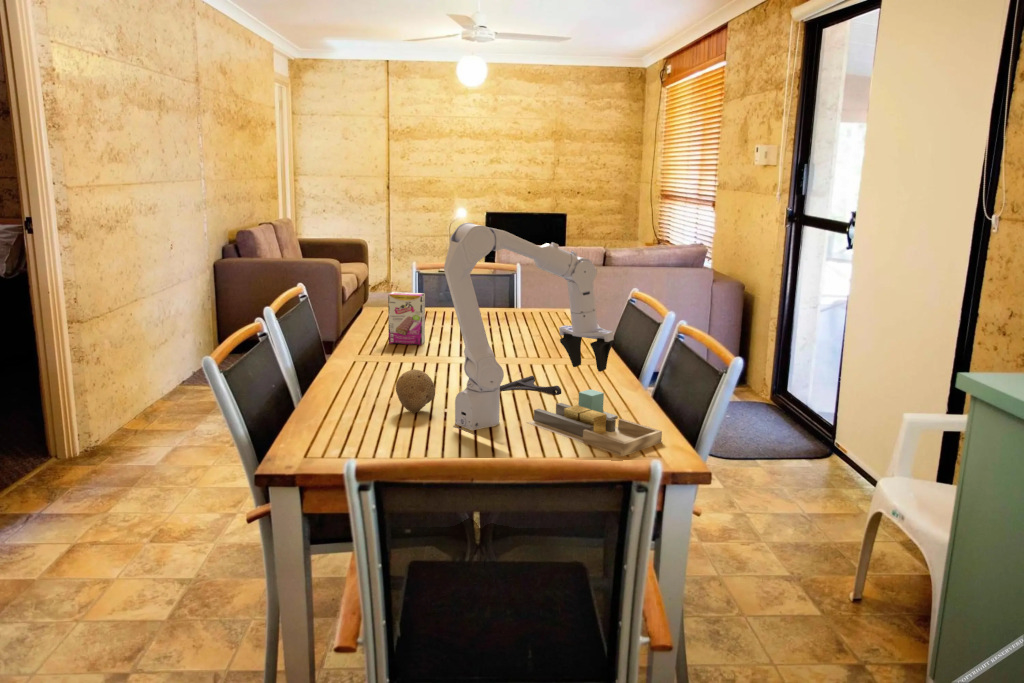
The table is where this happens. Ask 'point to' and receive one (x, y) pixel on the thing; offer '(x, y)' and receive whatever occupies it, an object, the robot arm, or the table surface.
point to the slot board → (613, 440)
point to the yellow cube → (594, 420)
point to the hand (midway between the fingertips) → (589, 368)
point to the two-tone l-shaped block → (593, 401)
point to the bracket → (530, 386)
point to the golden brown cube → (574, 412)
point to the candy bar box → (406, 318)
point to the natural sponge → (415, 390)
